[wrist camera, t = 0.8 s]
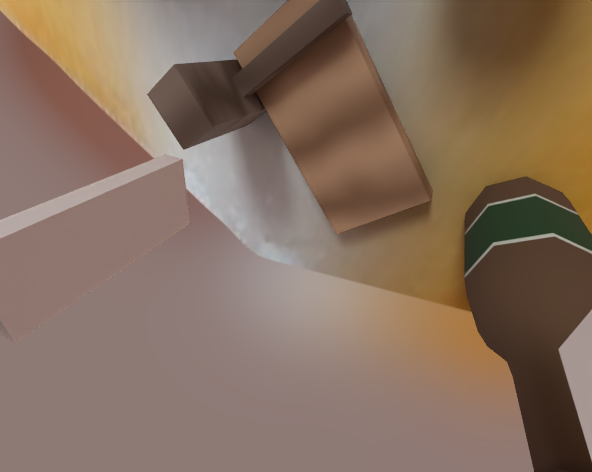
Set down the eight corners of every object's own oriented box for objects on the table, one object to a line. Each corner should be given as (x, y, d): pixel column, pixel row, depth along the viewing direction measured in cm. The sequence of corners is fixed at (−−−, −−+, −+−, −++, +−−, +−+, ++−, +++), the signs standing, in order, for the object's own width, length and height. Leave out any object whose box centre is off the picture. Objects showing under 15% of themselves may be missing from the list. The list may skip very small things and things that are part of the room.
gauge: (214, 87, 34) (141, 100, 27) (341, -28, 25) (285, -59, 17) (240, 130, 36) (176, 154, 28) (369, 35, 26) (329, 32, 19)
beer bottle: (473, 170, 28) (488, 425, 9) (585, 177, 25) (931, 571, 6) (457, 246, 32) (445, 535, 13) (552, 260, 29) (712, 659, 10)
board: (247, 51, 32) (233, 52, 30) (331, -27, 26) (321, -32, 24) (342, 224, 36) (336, 234, 34) (432, 190, 30) (430, 200, 29)
